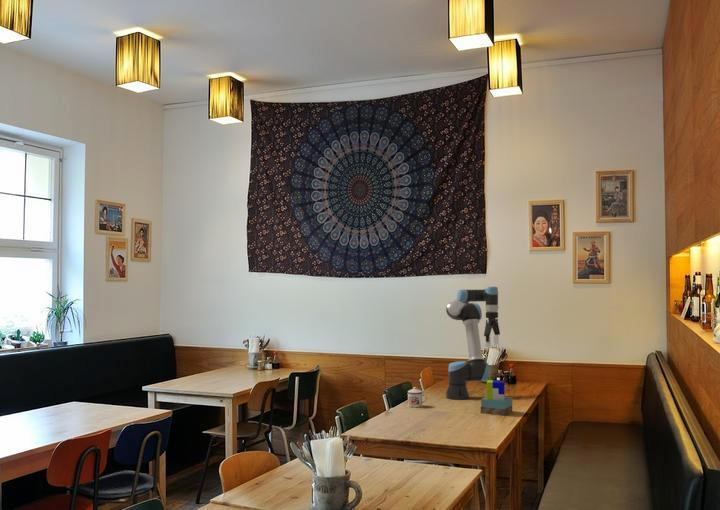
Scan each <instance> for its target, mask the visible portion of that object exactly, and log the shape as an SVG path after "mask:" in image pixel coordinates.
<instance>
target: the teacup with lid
mask: <svg viewBox="0 0 720 510" xmlns="http://www.w3.org/2000/svg"><path fill="white" fill-rule="evenodd" d="M423 397H425V400H424V401H423ZM427 400H428V397H427V395H426V394H423V391H422V390H420V389H419V388H417V386H413V388H412V389H409V390H407V406H408V407H409V408H422V407H423V404H424V403H426V402H427Z"/></svg>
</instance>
